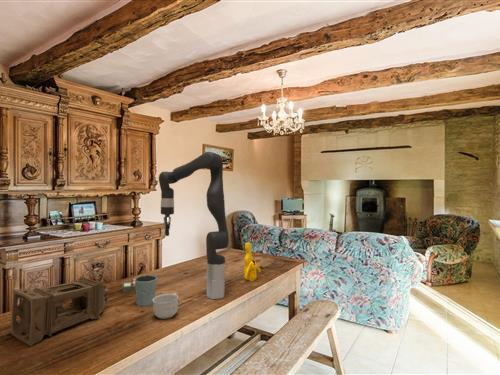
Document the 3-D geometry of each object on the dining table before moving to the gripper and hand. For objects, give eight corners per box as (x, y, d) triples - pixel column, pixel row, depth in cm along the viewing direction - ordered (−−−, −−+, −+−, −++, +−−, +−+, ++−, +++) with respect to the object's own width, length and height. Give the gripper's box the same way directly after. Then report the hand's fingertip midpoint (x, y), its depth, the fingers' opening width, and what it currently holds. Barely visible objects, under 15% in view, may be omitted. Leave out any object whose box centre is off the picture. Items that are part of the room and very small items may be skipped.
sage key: (130, 290, 157) (130, 285, 157) (123, 290, 156) (123, 286, 156) (130, 287, 161) (130, 282, 161) (124, 287, 160) (124, 283, 160)
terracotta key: (139, 287, 159) (139, 283, 159) (133, 288, 157) (133, 283, 157) (139, 284, 163) (139, 280, 163) (133, 285, 162) (133, 280, 162)
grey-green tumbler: (150, 297, 151) (151, 273, 151) (160, 303, 144) (161, 278, 144) (130, 302, 144) (131, 277, 144) (140, 309, 137) (140, 283, 137)
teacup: (164, 323, 123) (164, 304, 123) (146, 317, 129) (147, 298, 129) (188, 311, 135) (188, 294, 135) (171, 306, 141) (171, 289, 141)
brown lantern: (100, 309, 142) (98, 270, 143) (123, 314, 132) (121, 271, 134) (10, 339, 112) (10, 289, 114) (32, 347, 103) (31, 293, 104)
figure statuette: (247, 284, 173) (248, 246, 172) (236, 281, 177) (237, 244, 177) (263, 276, 188) (264, 241, 187) (252, 274, 192) (253, 240, 192)
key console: (150, 290, 160) (150, 282, 160) (121, 293, 155) (122, 285, 155) (149, 283, 171) (149, 275, 171) (123, 285, 166) (123, 278, 166)
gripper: (175, 206, 169) (174, 237, 170) (172, 205, 182) (172, 233, 182) (161, 207, 167) (161, 238, 167) (159, 205, 179) (159, 234, 179)
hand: (166, 235), depth 175 cm, fingers closed
